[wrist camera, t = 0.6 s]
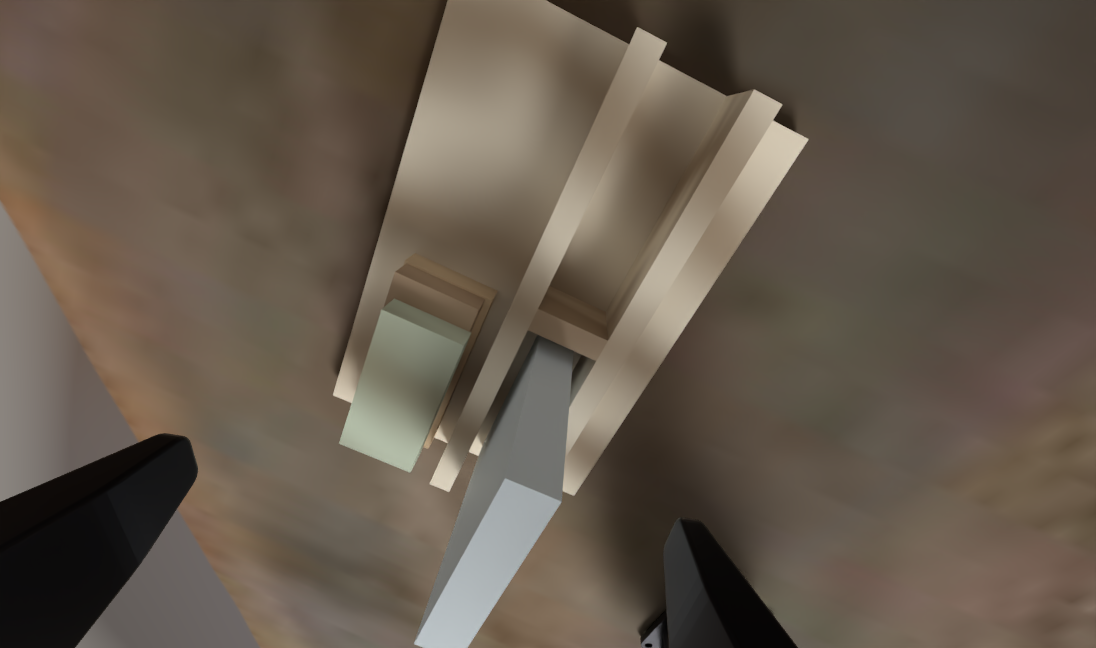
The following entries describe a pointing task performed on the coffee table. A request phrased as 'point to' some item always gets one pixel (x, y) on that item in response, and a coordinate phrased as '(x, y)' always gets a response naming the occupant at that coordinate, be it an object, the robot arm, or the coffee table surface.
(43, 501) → the robot arm
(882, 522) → the coffee table surface
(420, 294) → the offcut stack
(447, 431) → the rack
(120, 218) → the coffee table surface
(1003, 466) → the coffee table surface
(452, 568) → the sheet
